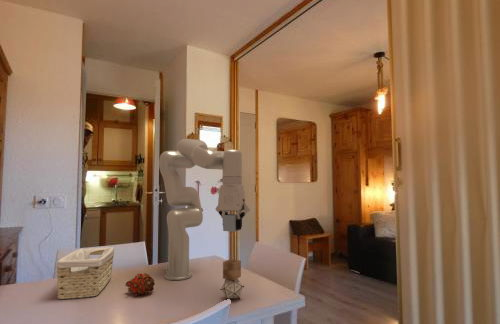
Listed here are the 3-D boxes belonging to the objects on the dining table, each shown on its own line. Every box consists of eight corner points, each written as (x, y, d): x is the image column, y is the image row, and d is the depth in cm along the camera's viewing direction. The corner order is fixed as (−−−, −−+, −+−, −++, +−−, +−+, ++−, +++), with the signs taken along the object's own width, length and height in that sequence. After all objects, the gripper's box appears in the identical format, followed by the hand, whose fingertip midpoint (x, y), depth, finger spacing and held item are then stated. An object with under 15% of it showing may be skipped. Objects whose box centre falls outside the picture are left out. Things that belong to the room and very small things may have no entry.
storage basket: (76, 281, 131) (77, 247, 132) (115, 278, 135) (116, 246, 136) (52, 302, 108) (54, 261, 109) (100, 298, 111) (101, 258, 112)
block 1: (223, 230, 111) (223, 214, 111) (229, 229, 115) (229, 213, 116) (234, 231, 109) (234, 215, 109) (241, 229, 113) (240, 214, 114)
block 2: (222, 278, 110) (223, 262, 110) (229, 274, 114) (229, 259, 114) (234, 280, 107) (234, 263, 108) (240, 276, 112) (240, 260, 112)
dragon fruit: (155, 299, 113) (127, 302, 115) (161, 280, 120) (135, 283, 122) (146, 286, 109) (117, 289, 111) (154, 267, 116) (126, 270, 118)
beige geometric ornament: (235, 310, 108) (240, 294, 103) (215, 300, 110) (218, 284, 105) (244, 291, 116) (249, 275, 111) (225, 282, 118) (228, 266, 112)
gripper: (208, 181, 114) (208, 228, 112) (247, 181, 106) (247, 231, 105) (218, 181, 121) (218, 226, 119) (256, 181, 113) (256, 229, 112)
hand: (232, 228), depth 112 cm, fingers closed on block 1, 5 cm apart
